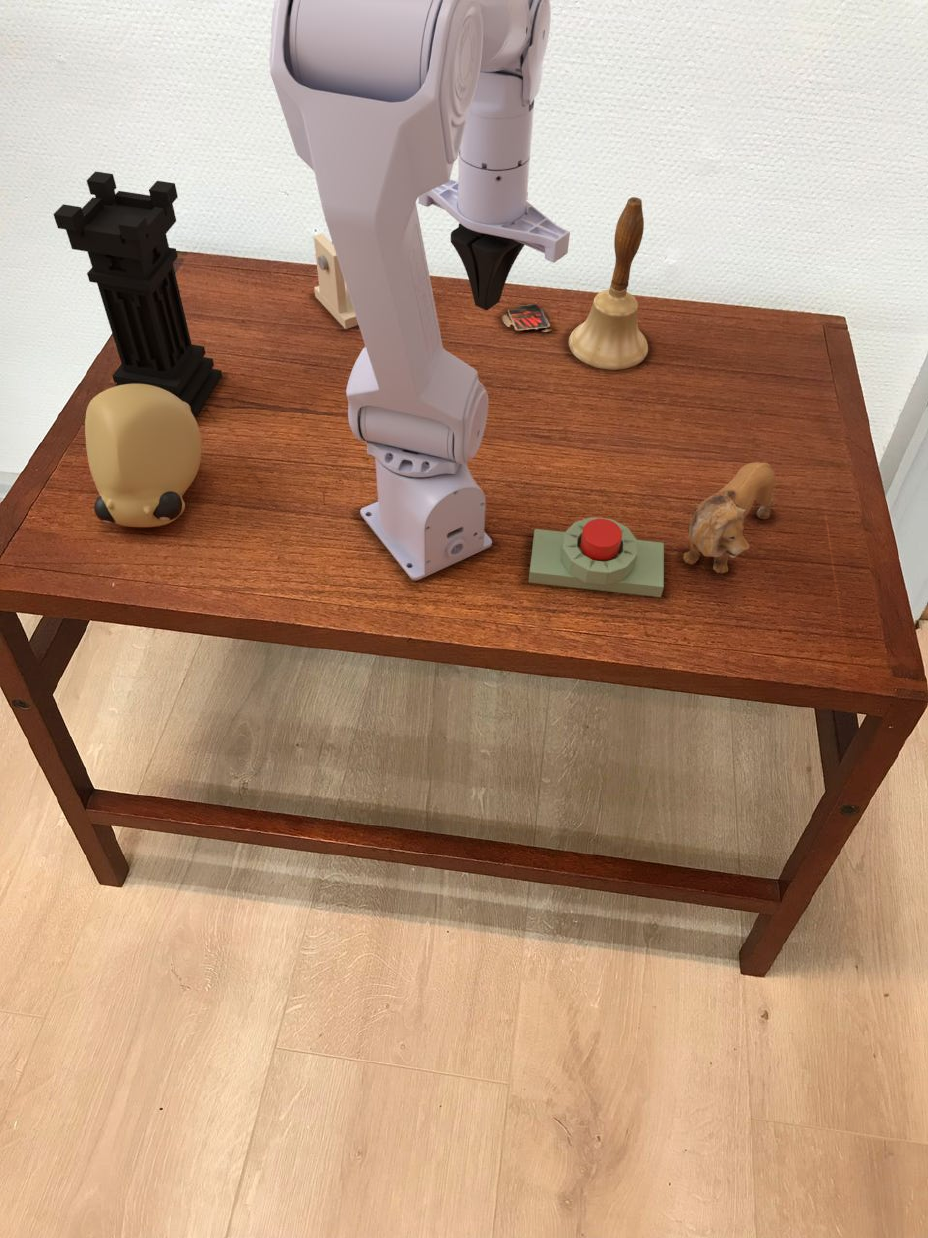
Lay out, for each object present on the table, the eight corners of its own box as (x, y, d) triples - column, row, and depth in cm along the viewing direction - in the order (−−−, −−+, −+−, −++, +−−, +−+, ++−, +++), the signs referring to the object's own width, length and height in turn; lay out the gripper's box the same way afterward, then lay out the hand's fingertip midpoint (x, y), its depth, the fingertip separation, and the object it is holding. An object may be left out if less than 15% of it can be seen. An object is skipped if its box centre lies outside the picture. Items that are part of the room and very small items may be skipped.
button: (619, 535, 81) (622, 520, 80) (618, 563, 79) (621, 548, 78) (581, 530, 82) (583, 516, 80) (579, 558, 80) (581, 544, 78)
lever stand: (391, 314, 105) (388, 246, 99) (341, 331, 103) (335, 263, 96) (359, 282, 108) (354, 215, 102) (310, 298, 106) (303, 231, 100)
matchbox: (533, 303, 106) (534, 299, 106) (557, 329, 103) (558, 325, 103) (495, 314, 105) (495, 310, 104) (518, 340, 102) (519, 336, 102)
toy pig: (111, 520, 90) (57, 528, 79) (108, 386, 88) (52, 376, 77) (217, 524, 89) (176, 533, 79) (215, 389, 87) (174, 380, 77)
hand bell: (647, 325, 104) (676, 180, 92) (648, 373, 99) (679, 226, 87) (569, 319, 105) (587, 173, 92) (567, 367, 100) (585, 219, 87)
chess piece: (111, 413, 94) (46, 215, 78) (147, 363, 98) (93, 168, 83) (189, 427, 93) (139, 230, 77) (222, 376, 97) (181, 181, 82)
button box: (661, 548, 84) (667, 524, 82) (660, 603, 80) (667, 579, 78) (533, 535, 85) (536, 510, 82) (527, 588, 81) (530, 563, 79)
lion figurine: (724, 611, 80) (752, 536, 73) (663, 587, 81) (684, 510, 74) (778, 501, 88) (808, 423, 81) (722, 480, 90) (746, 402, 83)
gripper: (598, 163, 77) (578, 313, 88) (455, 108, 83) (452, 255, 93) (546, 198, 74) (532, 350, 84) (400, 138, 79) (404, 287, 90)
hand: (487, 303), depth 88 cm, fingers closed
